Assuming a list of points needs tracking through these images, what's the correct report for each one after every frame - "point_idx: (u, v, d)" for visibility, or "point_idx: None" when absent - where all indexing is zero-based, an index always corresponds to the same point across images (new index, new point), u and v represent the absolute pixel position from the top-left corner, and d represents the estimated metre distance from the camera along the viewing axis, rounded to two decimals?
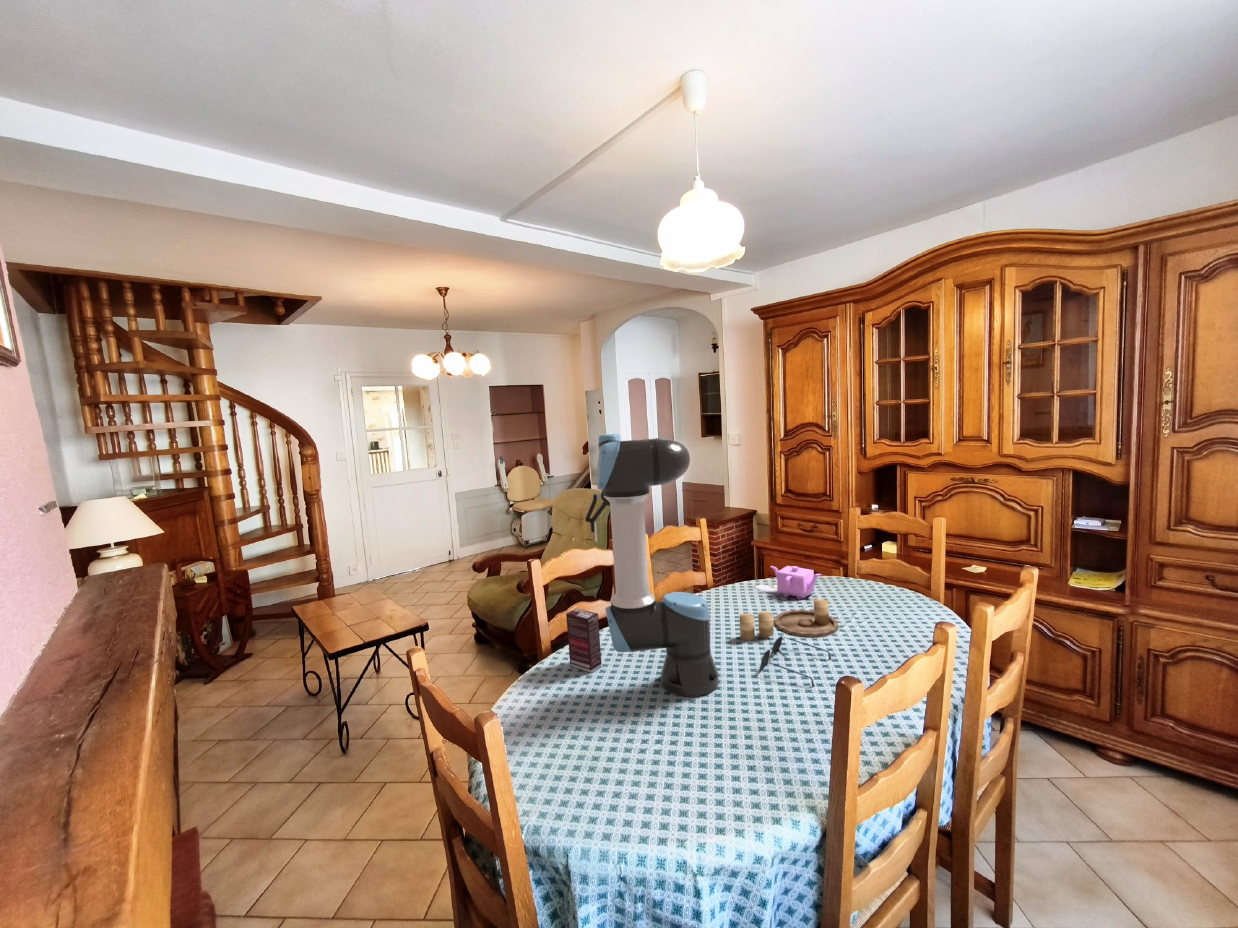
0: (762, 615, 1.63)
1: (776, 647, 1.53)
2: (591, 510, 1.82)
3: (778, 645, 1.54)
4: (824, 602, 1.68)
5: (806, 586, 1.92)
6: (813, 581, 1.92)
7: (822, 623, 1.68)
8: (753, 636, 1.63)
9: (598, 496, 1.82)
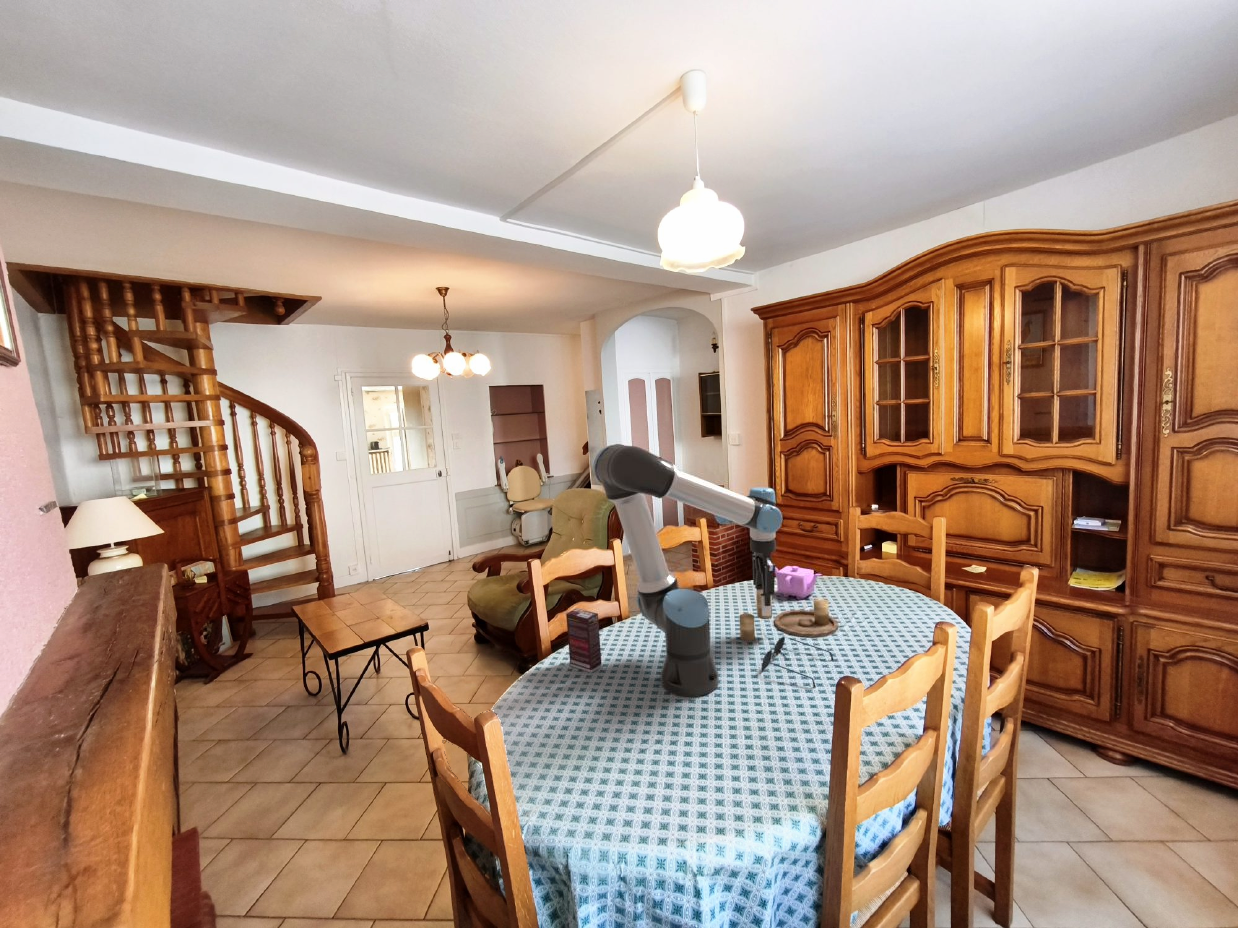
0: None
1: (778, 647, 1.52)
2: (753, 571, 1.68)
3: (780, 645, 1.53)
4: (824, 602, 1.68)
5: (806, 586, 1.92)
6: (813, 581, 1.92)
7: (822, 623, 1.68)
8: (753, 636, 1.63)
9: None
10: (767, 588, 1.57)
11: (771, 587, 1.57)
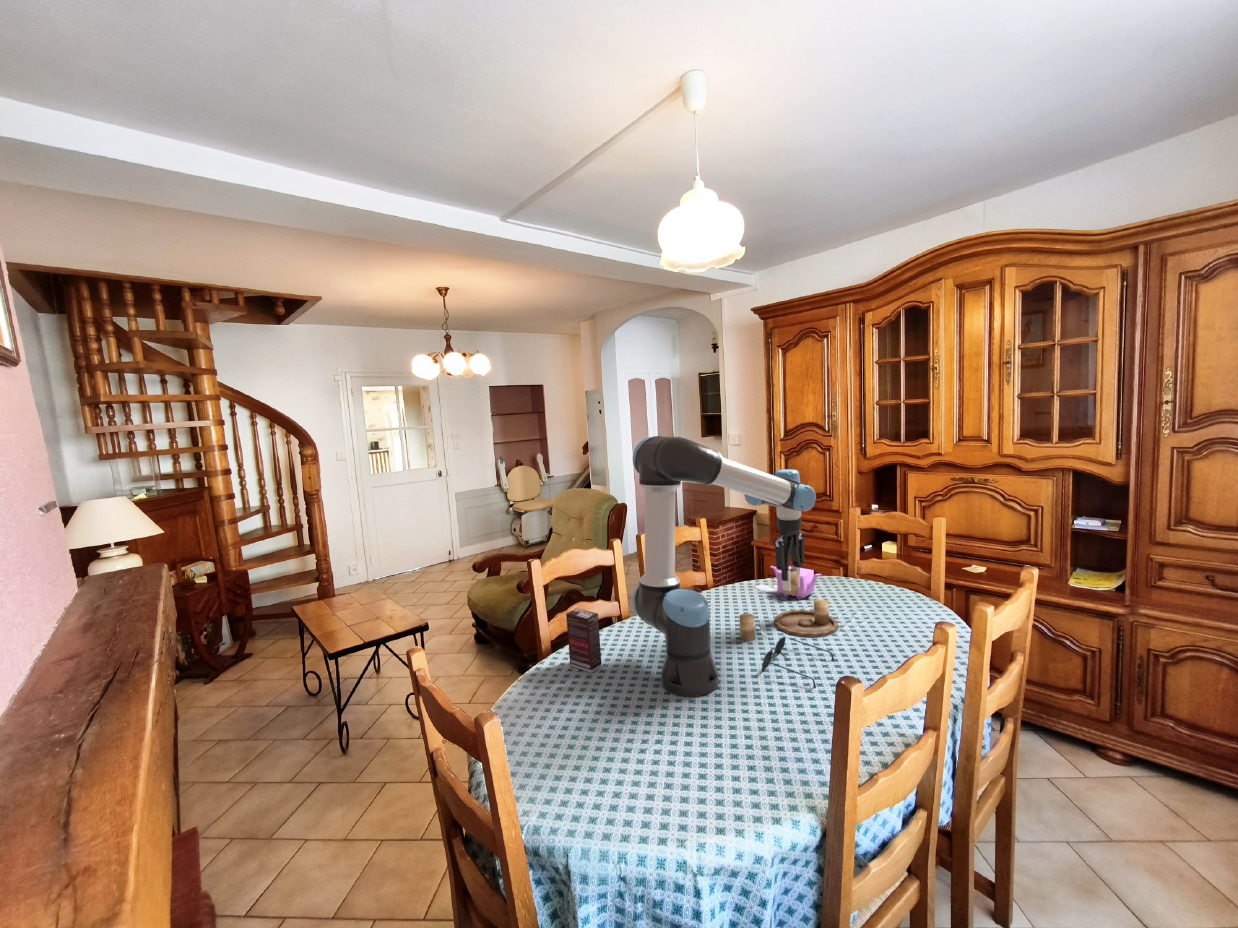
0: (794, 571, 1.72)
1: (779, 647, 1.52)
2: (783, 557, 1.68)
3: (781, 645, 1.53)
4: (824, 602, 1.68)
5: (806, 586, 1.92)
6: (813, 581, 1.92)
7: (822, 623, 1.68)
8: (753, 636, 1.63)
9: (781, 540, 1.68)
10: None
11: None
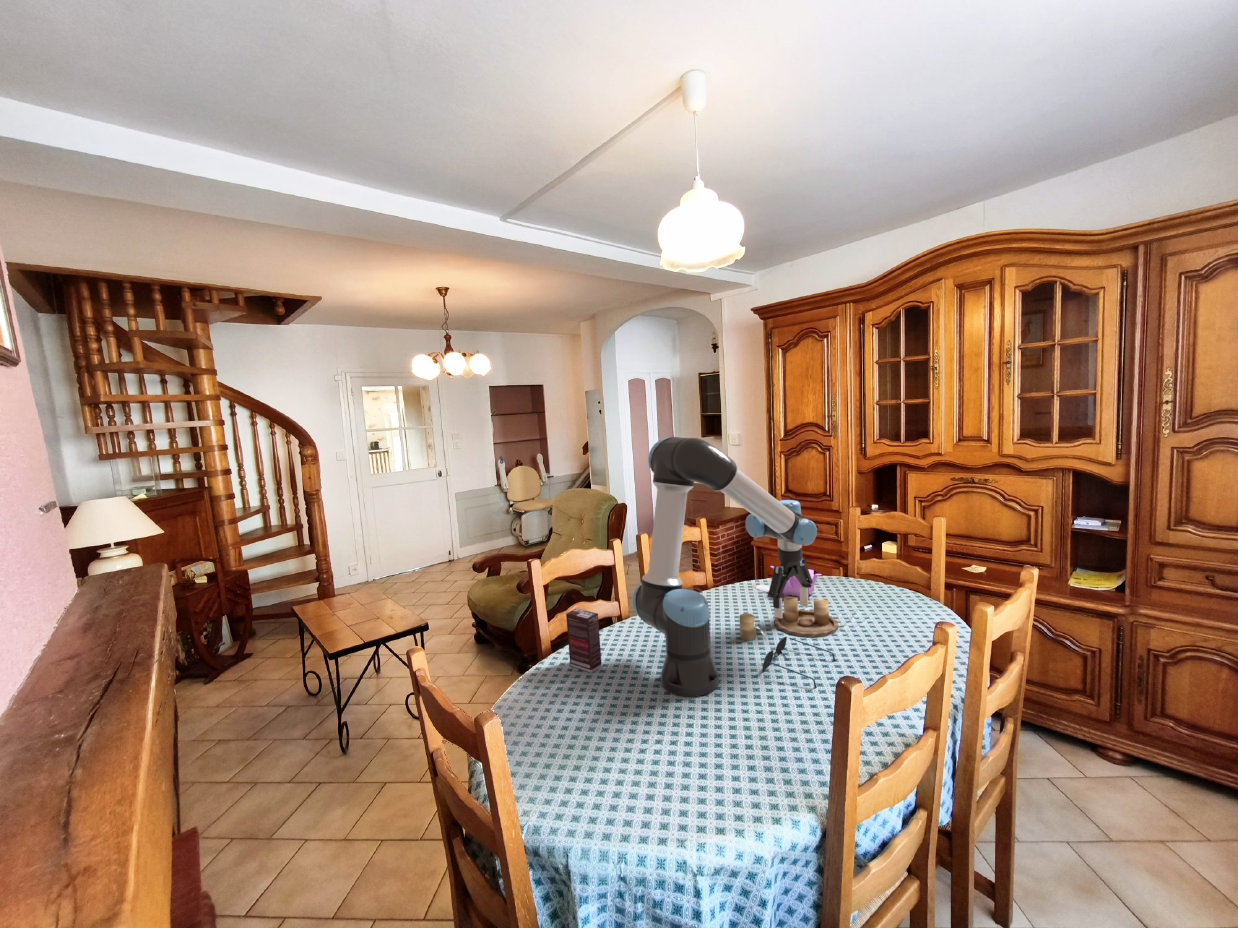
0: (795, 599, 1.73)
1: (780, 648, 1.52)
2: (778, 585, 1.67)
3: (782, 646, 1.53)
4: (824, 602, 1.68)
5: None
6: (813, 581, 1.92)
7: (822, 623, 1.68)
8: (753, 636, 1.63)
9: (781, 568, 1.69)
10: None
11: None
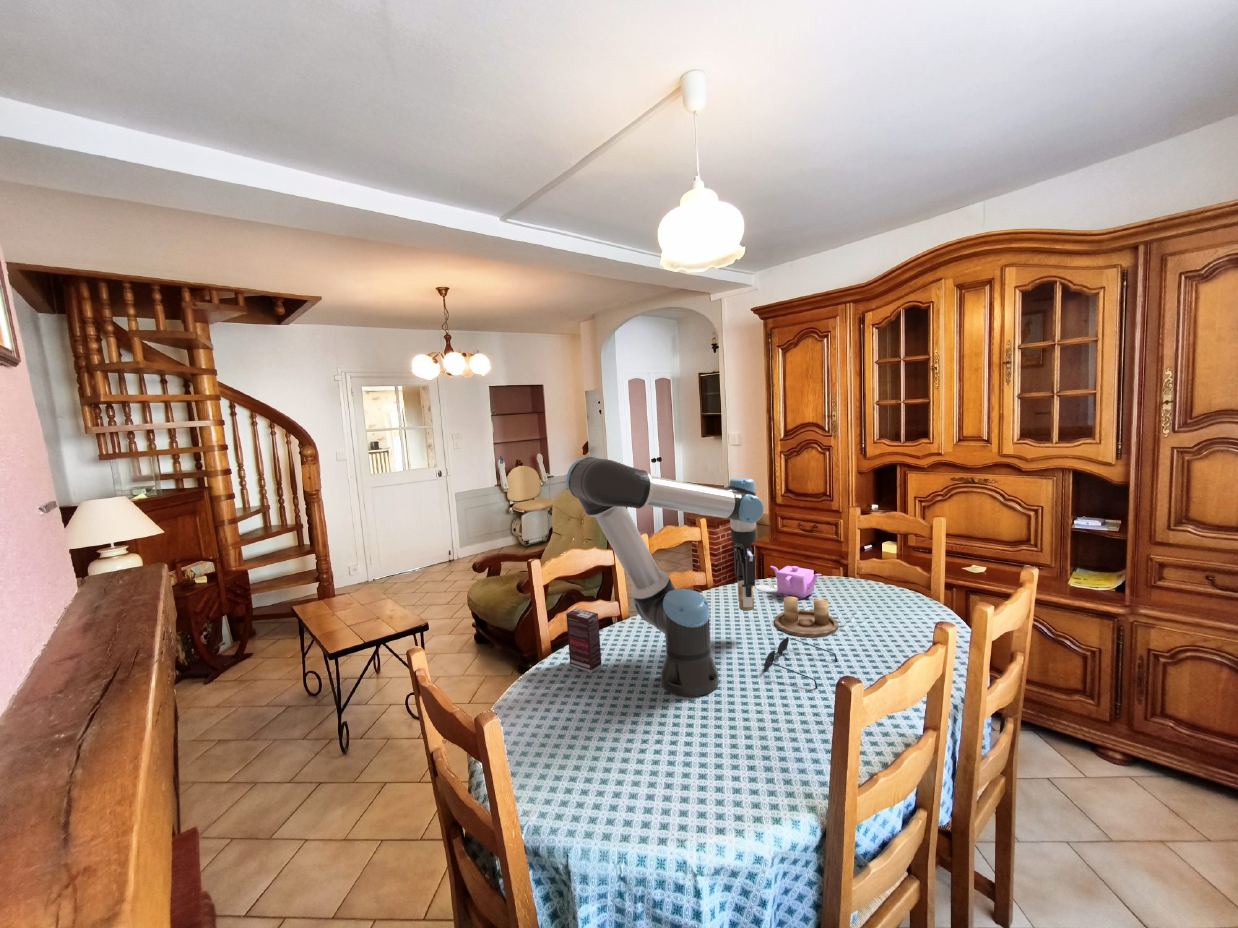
0: (795, 599, 1.73)
1: (782, 648, 1.52)
2: (735, 563, 1.67)
3: (784, 646, 1.53)
4: (824, 602, 1.68)
5: (806, 586, 1.92)
6: (813, 581, 1.92)
7: (822, 623, 1.68)
8: None
9: (737, 546, 1.66)
10: (747, 579, 1.56)
11: (752, 578, 1.56)
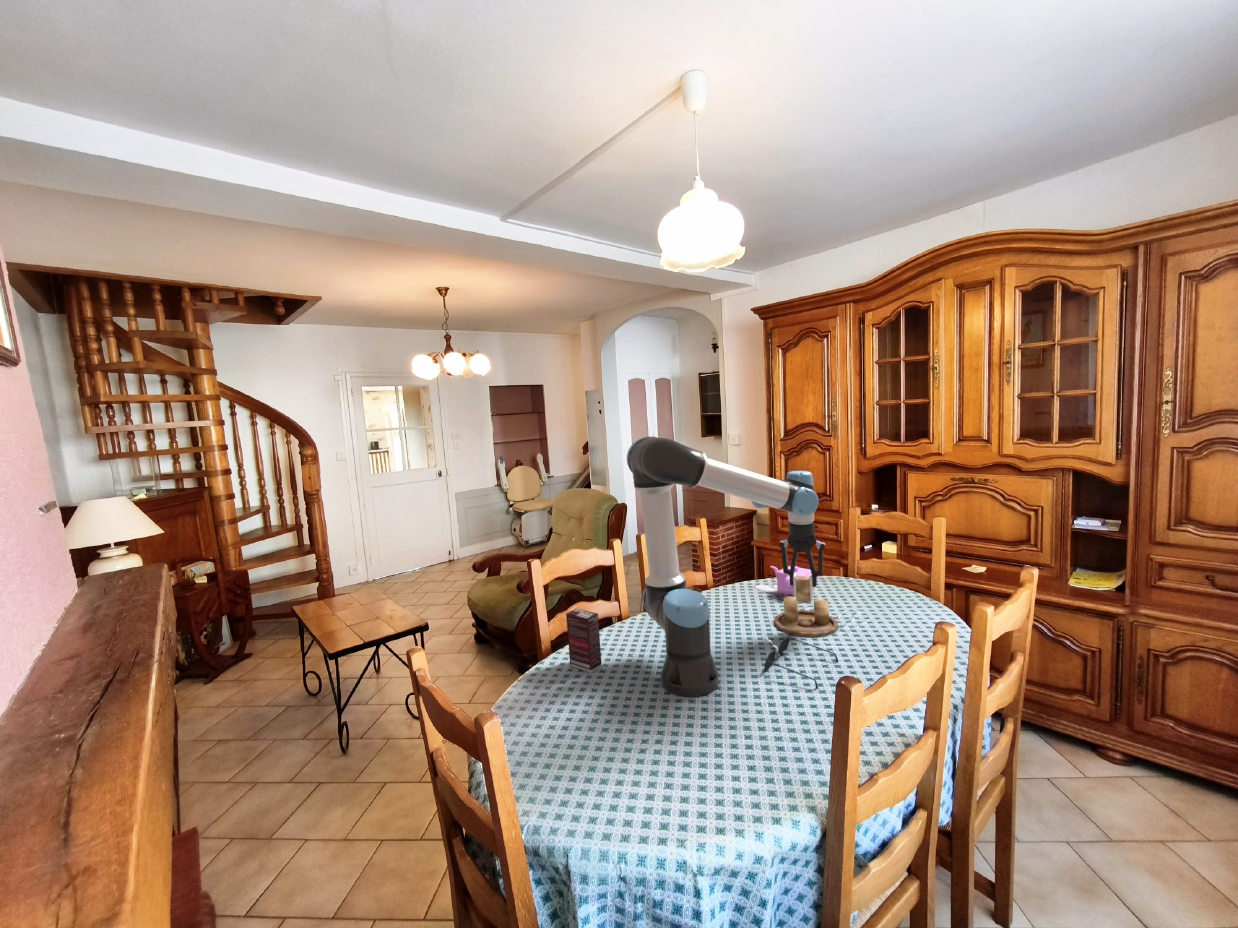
0: (795, 599, 1.73)
1: (782, 648, 1.52)
2: (784, 560, 1.64)
3: (785, 646, 1.53)
4: (824, 602, 1.68)
5: None
6: None
7: (822, 623, 1.68)
8: None
9: (785, 542, 1.64)
10: (822, 567, 1.60)
11: (822, 566, 1.61)
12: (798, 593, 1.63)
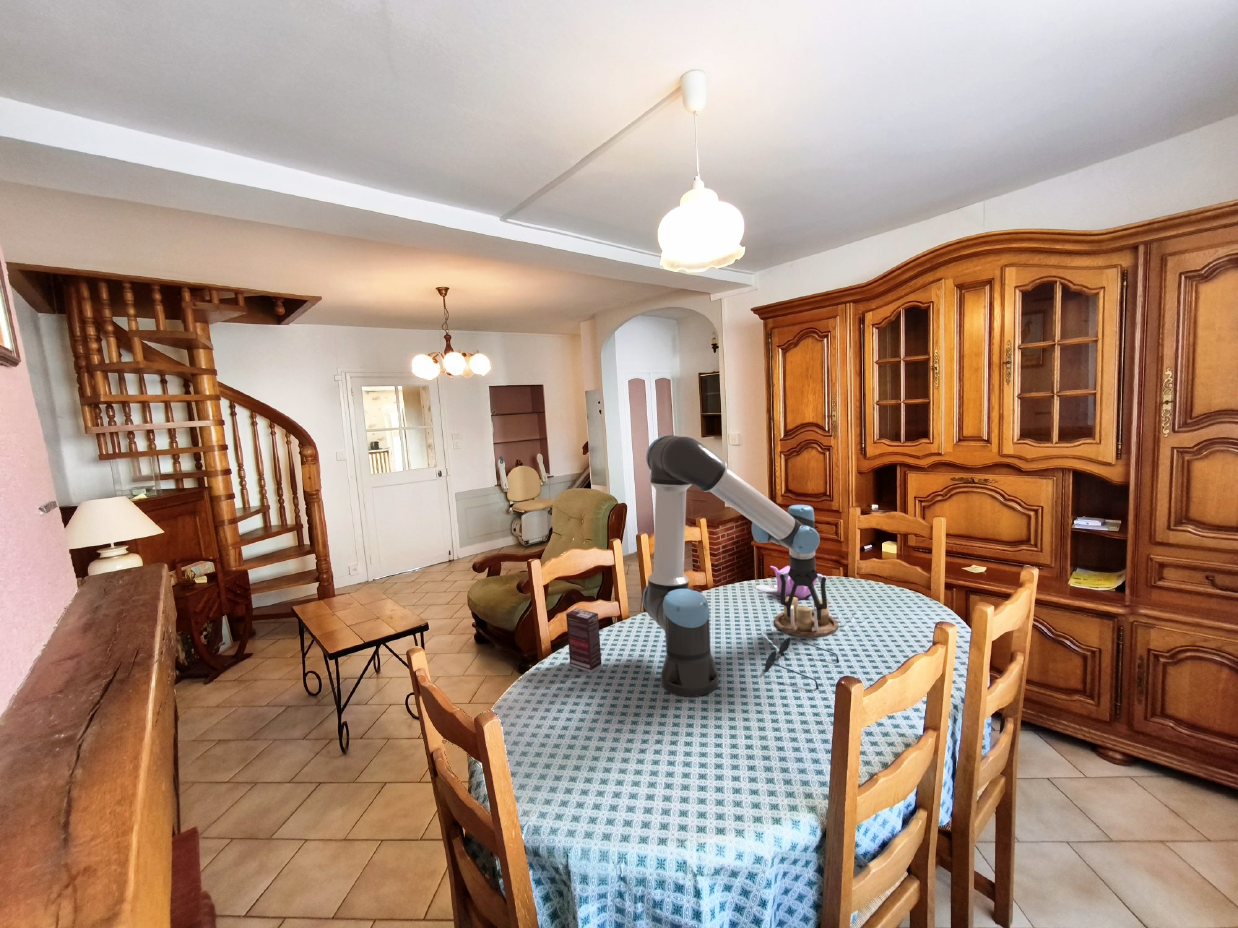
0: (795, 599, 1.73)
1: (783, 648, 1.52)
2: (783, 592, 1.65)
3: (786, 646, 1.53)
4: None
5: (806, 586, 1.92)
6: None
7: (822, 623, 1.68)
8: None
9: (786, 575, 1.65)
10: (826, 601, 1.60)
11: (826, 598, 1.61)
12: (799, 623, 1.64)
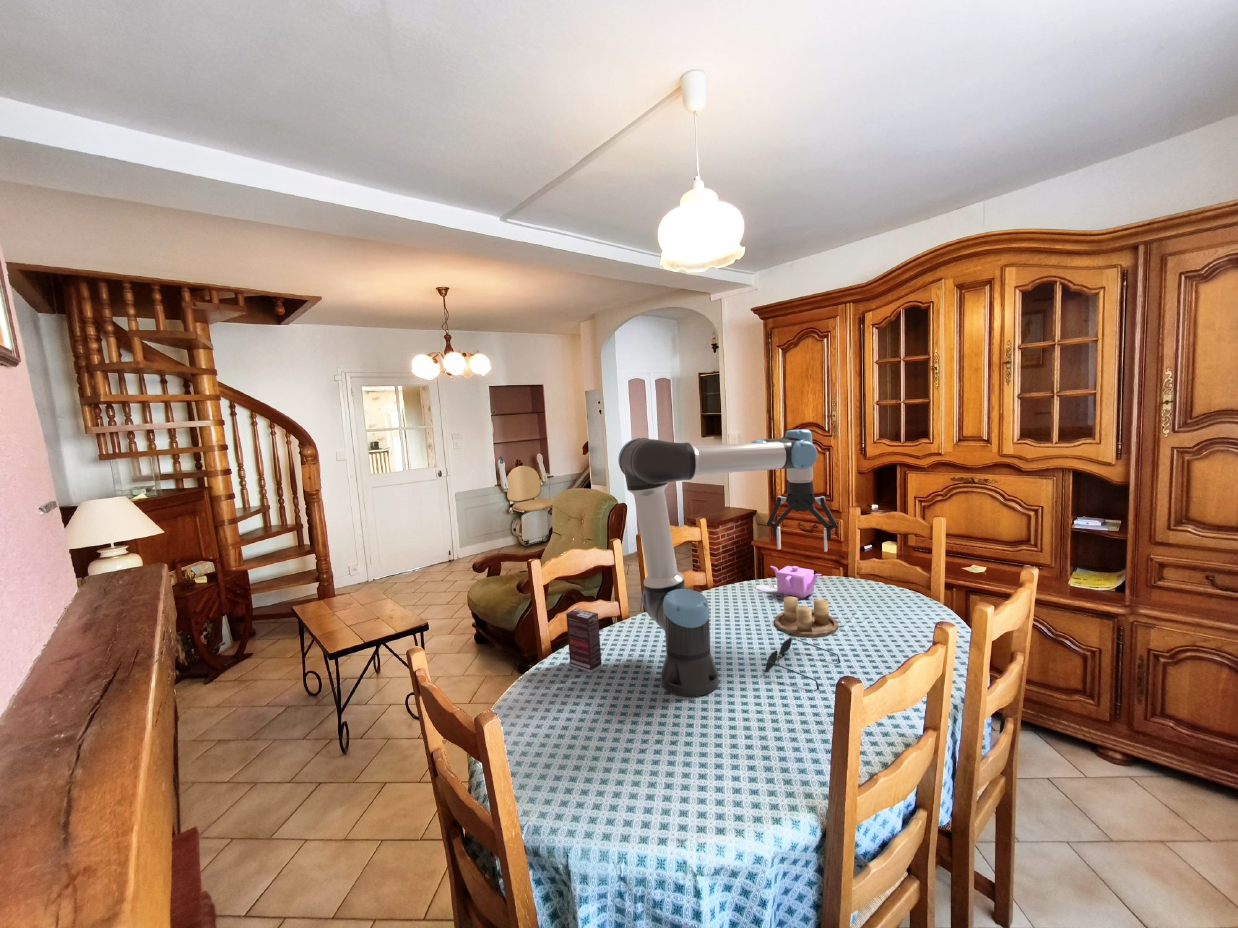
0: (795, 599, 1.73)
1: (785, 648, 1.51)
2: (774, 514, 1.63)
3: (787, 646, 1.52)
4: (824, 602, 1.68)
5: (806, 586, 1.92)
6: (813, 581, 1.92)
7: (822, 623, 1.68)
8: None
9: (783, 499, 1.62)
10: (833, 519, 1.57)
11: (833, 518, 1.58)
12: (799, 623, 1.64)
